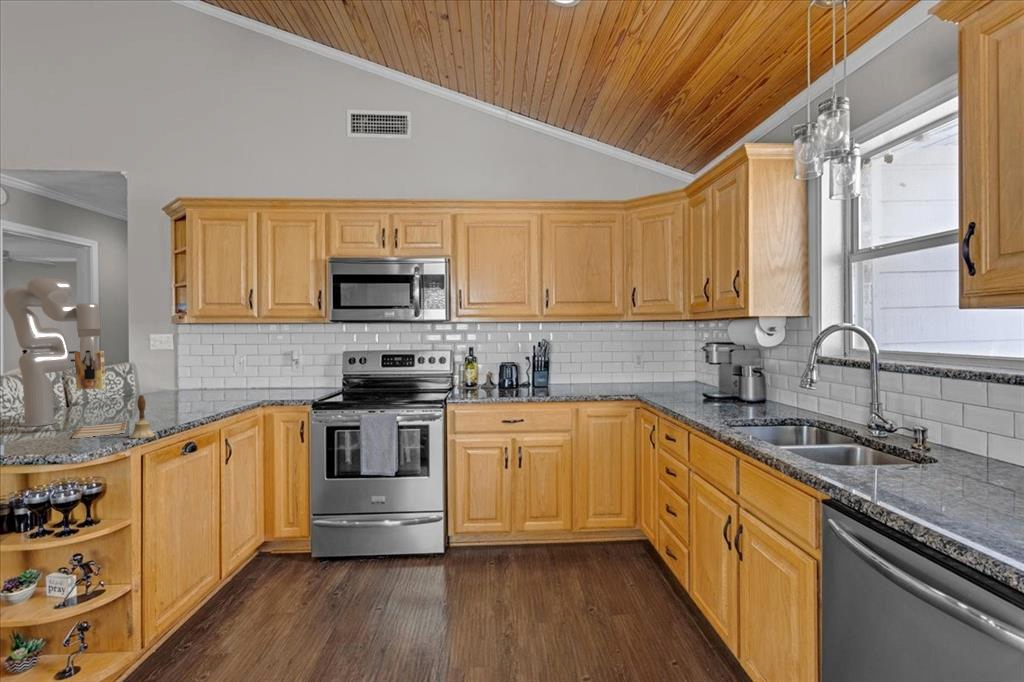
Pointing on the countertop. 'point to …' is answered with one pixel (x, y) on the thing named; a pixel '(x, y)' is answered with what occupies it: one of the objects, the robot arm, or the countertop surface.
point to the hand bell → (142, 422)
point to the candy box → (99, 373)
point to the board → (100, 430)
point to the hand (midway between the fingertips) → (90, 377)
